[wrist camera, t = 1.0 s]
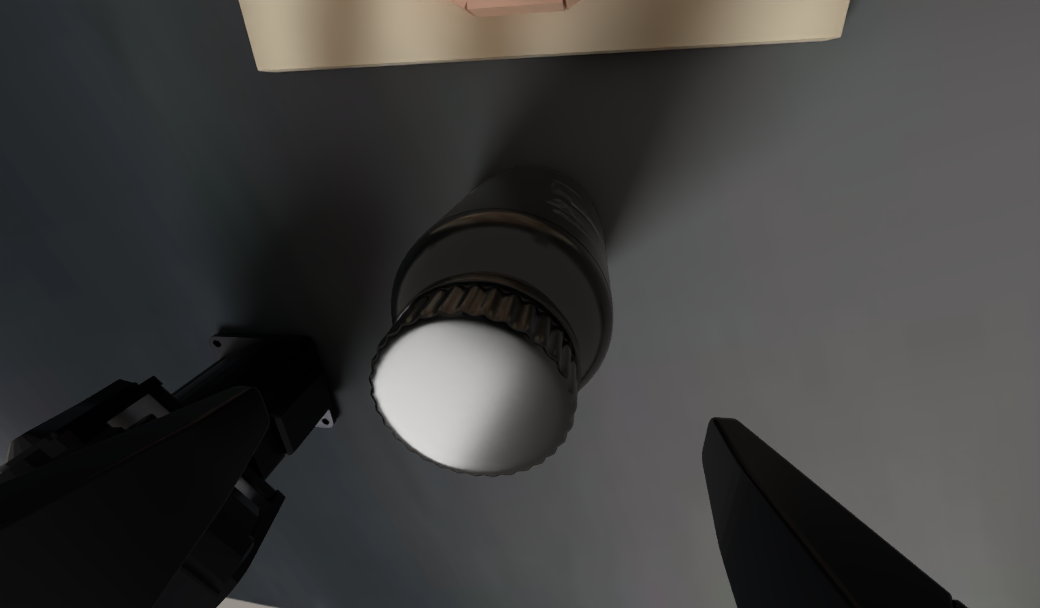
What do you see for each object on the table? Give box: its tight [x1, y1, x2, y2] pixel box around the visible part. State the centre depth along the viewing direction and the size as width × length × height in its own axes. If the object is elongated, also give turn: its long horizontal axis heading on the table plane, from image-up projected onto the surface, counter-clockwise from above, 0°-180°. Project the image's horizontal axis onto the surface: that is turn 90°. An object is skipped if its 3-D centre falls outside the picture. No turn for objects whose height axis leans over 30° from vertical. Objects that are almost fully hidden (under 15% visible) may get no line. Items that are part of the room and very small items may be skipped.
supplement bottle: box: [369, 167, 613, 477], centre depth 15 cm, size 7×7×12 cm
